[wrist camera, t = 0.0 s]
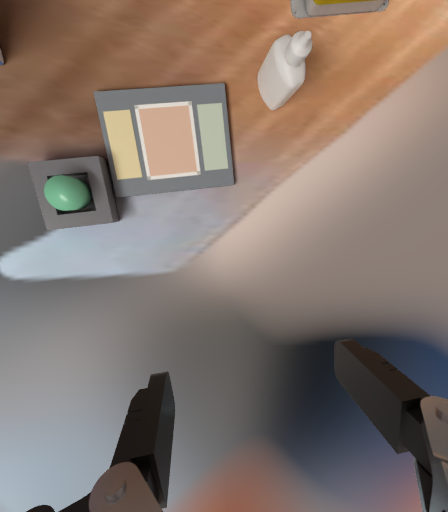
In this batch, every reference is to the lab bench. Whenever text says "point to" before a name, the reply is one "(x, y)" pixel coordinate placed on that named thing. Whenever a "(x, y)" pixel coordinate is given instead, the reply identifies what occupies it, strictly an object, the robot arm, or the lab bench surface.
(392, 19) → the lab bench surface
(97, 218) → the button housing
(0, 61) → the ink cartridge box
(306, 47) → the eye dropper bottle
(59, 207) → the button
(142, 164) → the colouring board
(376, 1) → the emergency button
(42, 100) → the lab bench surface
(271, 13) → the lab bench surface
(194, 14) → the lab bench surface
